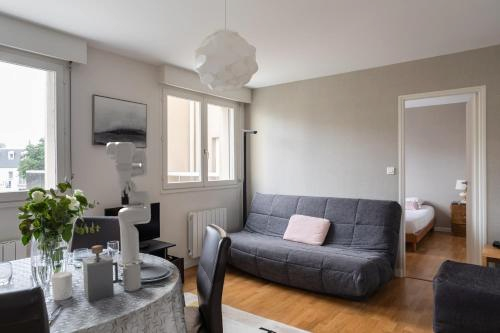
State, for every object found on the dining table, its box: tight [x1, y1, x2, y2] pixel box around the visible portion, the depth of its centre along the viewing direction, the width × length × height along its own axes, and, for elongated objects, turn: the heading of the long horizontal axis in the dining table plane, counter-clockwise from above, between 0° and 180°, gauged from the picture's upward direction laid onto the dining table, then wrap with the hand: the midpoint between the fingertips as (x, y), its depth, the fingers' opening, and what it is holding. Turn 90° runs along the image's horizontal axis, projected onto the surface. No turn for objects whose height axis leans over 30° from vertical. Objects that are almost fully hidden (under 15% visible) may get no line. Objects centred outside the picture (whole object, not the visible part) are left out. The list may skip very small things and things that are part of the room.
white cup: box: [50, 270, 73, 302], centre depth 144 cm, size 8×8×10 cm
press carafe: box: [81, 253, 119, 303], centre depth 145 cm, size 10×13×16 cm
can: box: [122, 261, 142, 292], centre depth 151 cm, size 8×8×12 cm
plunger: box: [91, 245, 104, 260], centre depth 144 cm, size 4×4×14 cm
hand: (125, 204), depth 164 cm, fingers closed
